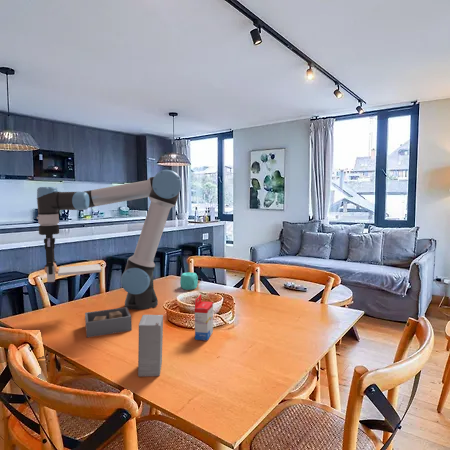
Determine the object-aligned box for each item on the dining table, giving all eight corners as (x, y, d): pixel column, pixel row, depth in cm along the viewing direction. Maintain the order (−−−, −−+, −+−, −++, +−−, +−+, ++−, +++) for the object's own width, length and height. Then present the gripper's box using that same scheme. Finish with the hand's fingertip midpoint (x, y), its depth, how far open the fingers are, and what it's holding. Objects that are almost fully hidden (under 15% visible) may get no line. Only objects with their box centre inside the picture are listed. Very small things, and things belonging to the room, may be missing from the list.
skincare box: (141, 363, 107) (140, 314, 106) (164, 362, 108) (163, 313, 106) (137, 378, 99) (135, 324, 97) (162, 376, 99) (161, 323, 98)
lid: (99, 266, 157) (99, 256, 157) (101, 271, 146) (101, 261, 145) (46, 270, 149) (45, 260, 148) (43, 276, 137) (43, 266, 137)
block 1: (106, 328, 134) (106, 315, 134) (104, 332, 130) (104, 319, 130) (96, 329, 134) (95, 316, 133) (93, 333, 130) (93, 320, 129)
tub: (127, 321, 143) (126, 307, 143) (131, 331, 132) (131, 316, 132) (85, 327, 137) (85, 312, 136) (86, 339, 126) (86, 323, 125)
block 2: (119, 322, 140) (119, 310, 139) (122, 325, 136) (122, 313, 136) (109, 325, 138) (108, 312, 137) (112, 328, 134) (111, 315, 134)
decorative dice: (180, 289, 190) (180, 275, 189) (184, 285, 198) (184, 272, 197) (194, 290, 189) (194, 275, 188) (198, 286, 197) (197, 272, 196)
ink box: (207, 341, 123) (207, 301, 122) (194, 340, 124) (193, 300, 123) (213, 331, 132) (213, 294, 130) (200, 330, 133) (200, 293, 131)
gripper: (40, 223, 148) (43, 276, 151) (36, 226, 133) (39, 286, 135) (59, 222, 151) (62, 275, 154) (58, 226, 136) (60, 284, 138)
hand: (51, 280), depth 144 cm, fingers closed on lid, 4 cm apart
